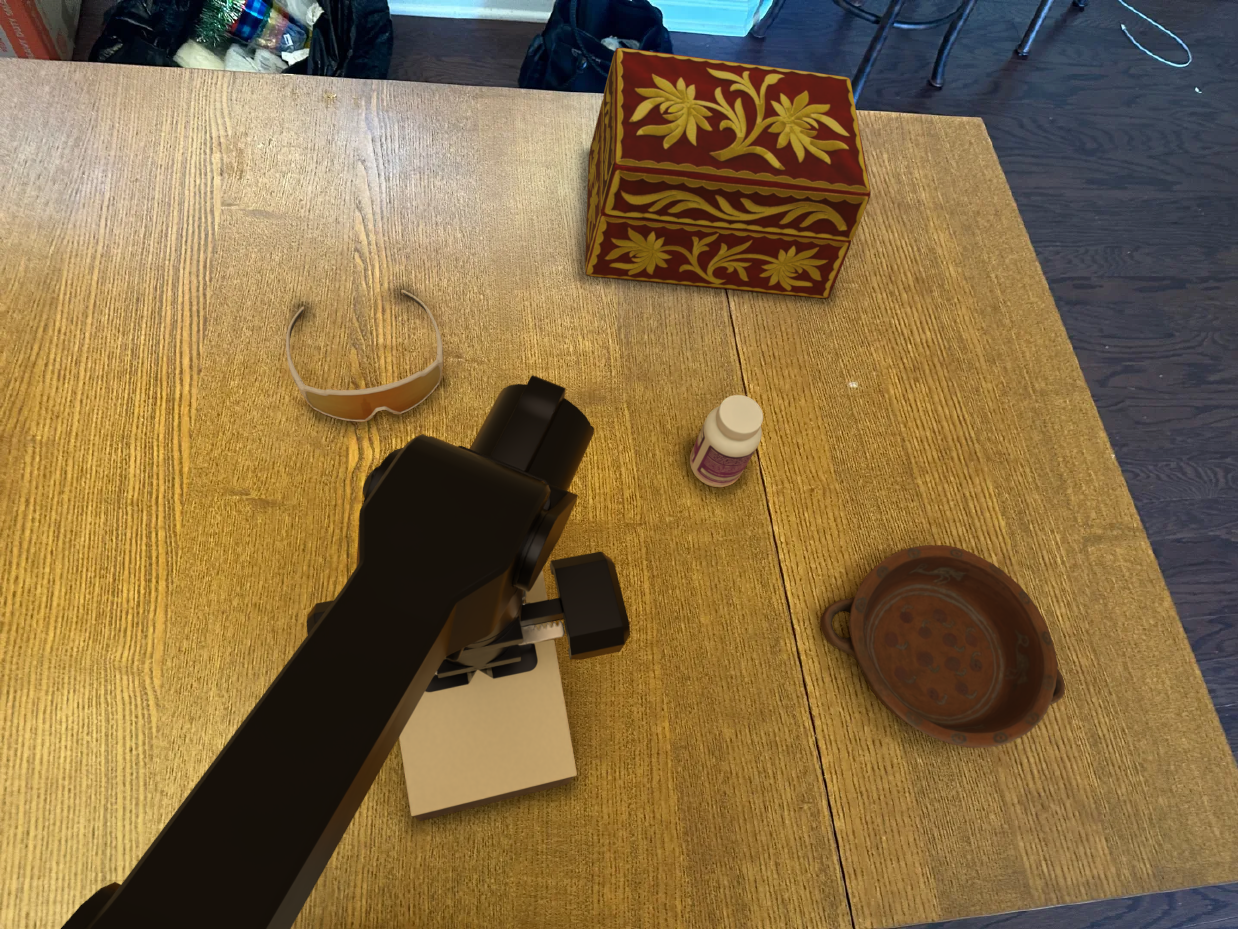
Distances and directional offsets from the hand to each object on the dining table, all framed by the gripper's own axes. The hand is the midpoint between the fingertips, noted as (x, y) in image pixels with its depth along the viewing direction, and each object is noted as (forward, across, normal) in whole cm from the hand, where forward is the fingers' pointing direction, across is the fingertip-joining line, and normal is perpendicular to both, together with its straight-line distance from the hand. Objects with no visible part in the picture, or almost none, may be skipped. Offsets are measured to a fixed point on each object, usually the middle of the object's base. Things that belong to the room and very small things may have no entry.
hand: (475, 660), depth 57 cm
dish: (+11, -40, +5) cm, 42 cm away
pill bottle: (+11, -26, -17) cm, 33 cm away
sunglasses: (+11, +5, -34) cm, 36 cm away
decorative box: (+11, -34, -47) cm, 59 cm away
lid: (+2, 0, +1) cm, 2 cm away
